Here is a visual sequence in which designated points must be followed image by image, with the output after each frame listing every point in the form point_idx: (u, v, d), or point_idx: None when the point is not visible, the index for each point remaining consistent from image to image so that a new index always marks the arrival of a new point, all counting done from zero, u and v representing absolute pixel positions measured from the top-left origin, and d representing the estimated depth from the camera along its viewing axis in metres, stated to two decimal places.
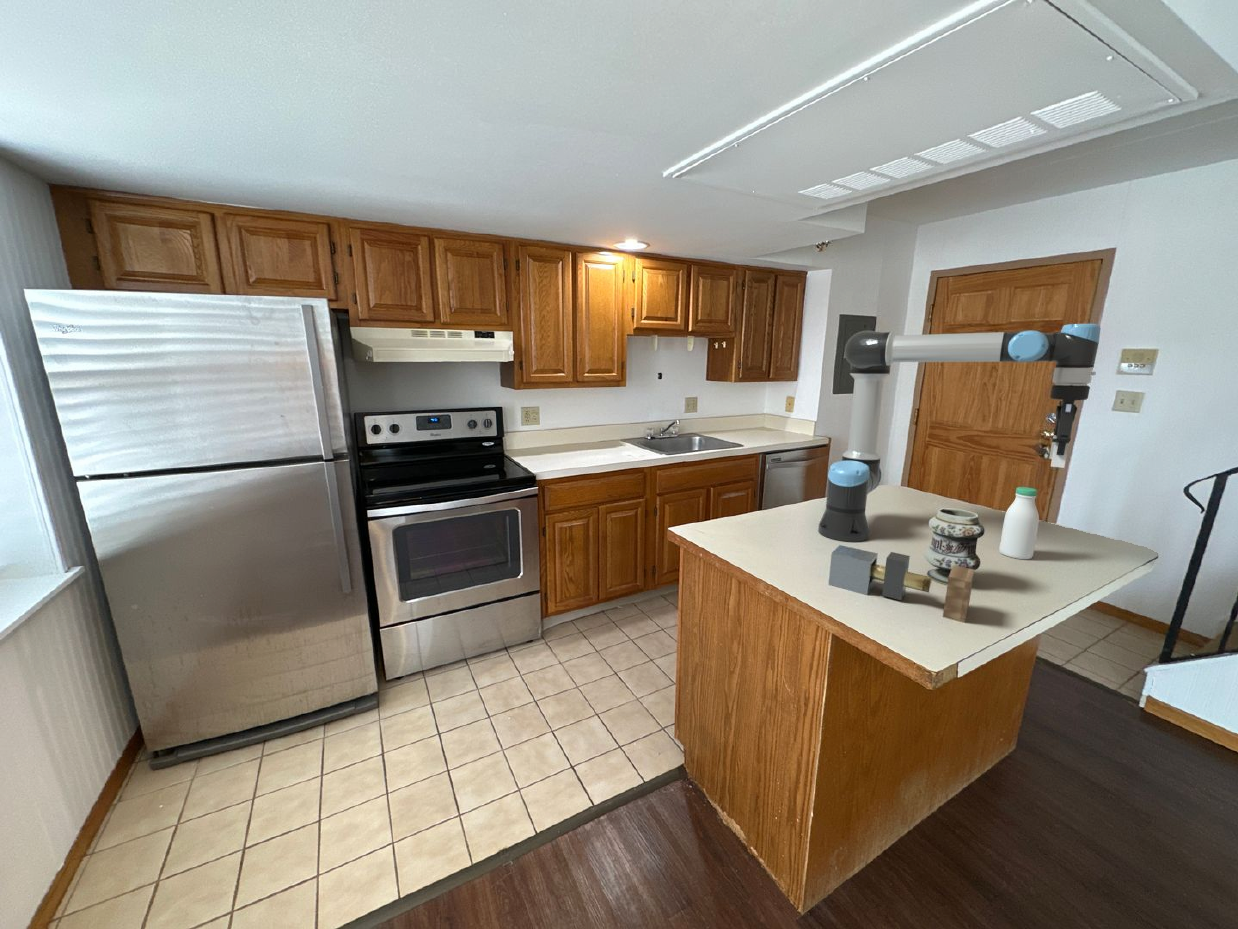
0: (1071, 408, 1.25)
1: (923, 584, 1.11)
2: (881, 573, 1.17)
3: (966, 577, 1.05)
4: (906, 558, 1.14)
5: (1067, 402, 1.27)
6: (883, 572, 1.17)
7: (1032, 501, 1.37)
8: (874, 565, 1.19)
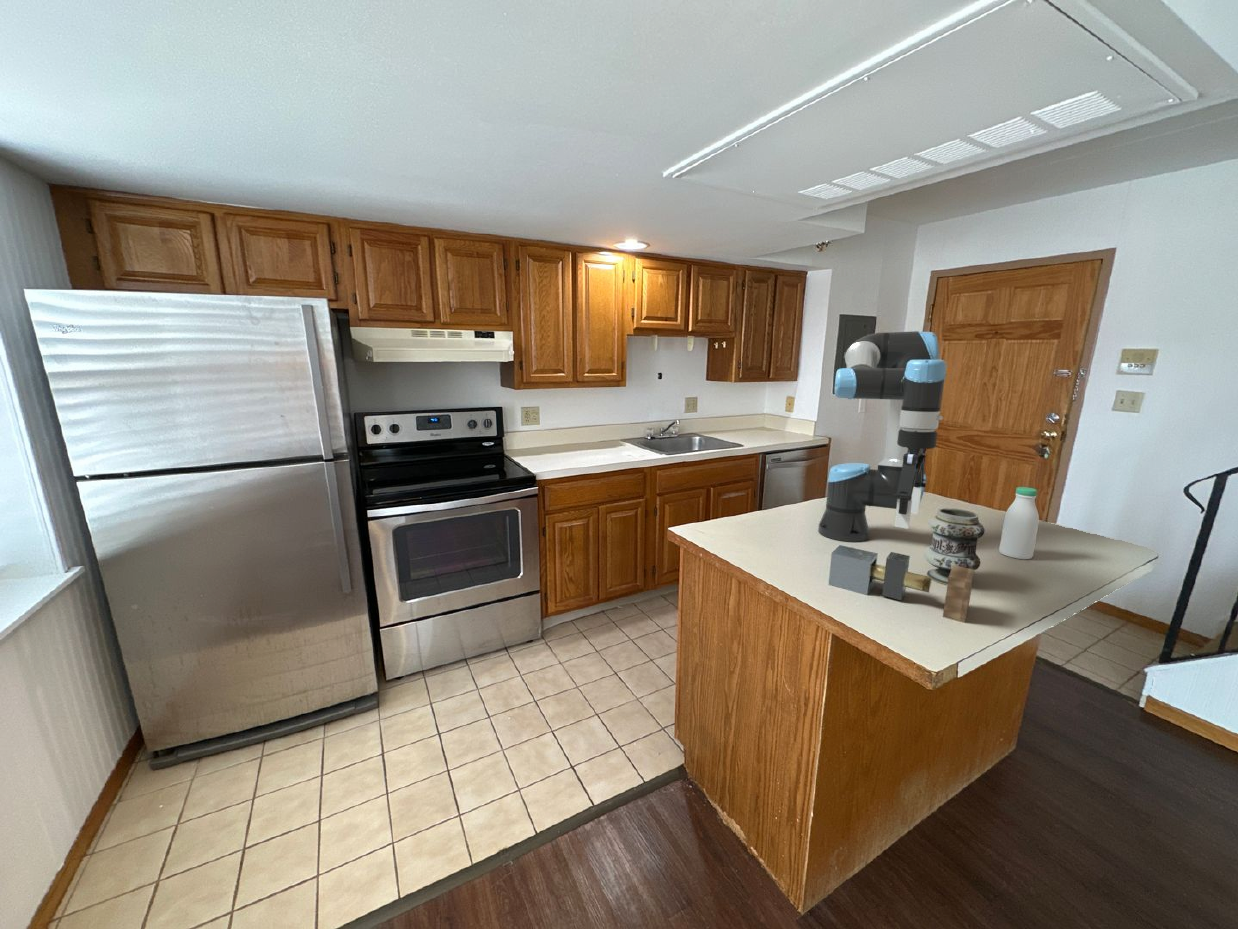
0: (912, 460, 1.05)
1: (923, 584, 1.11)
2: (881, 573, 1.17)
3: (966, 577, 1.05)
4: (906, 558, 1.14)
5: (911, 451, 1.08)
6: (883, 572, 1.17)
7: (1032, 501, 1.37)
8: (874, 565, 1.19)
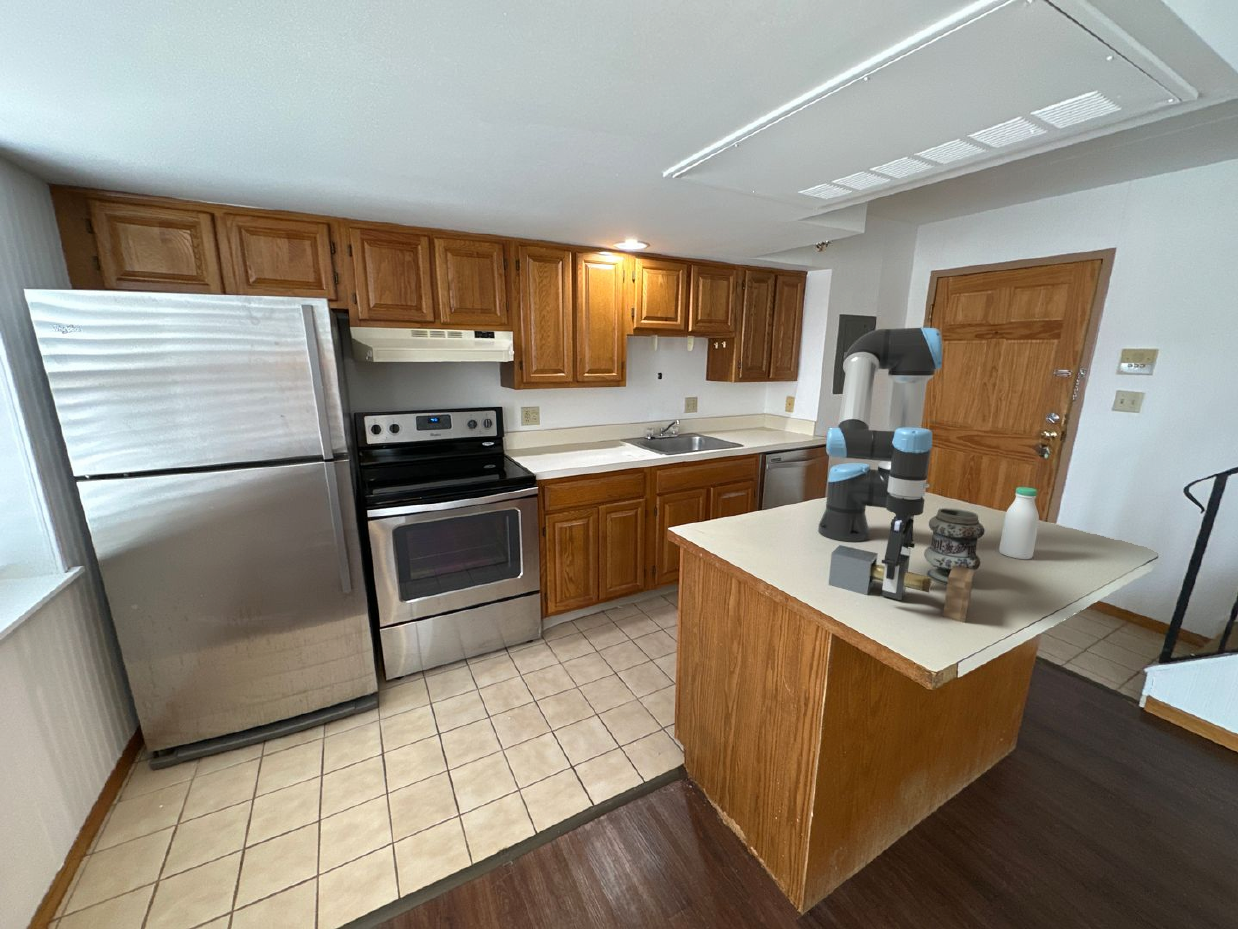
0: (899, 527, 1.08)
1: (923, 584, 1.11)
2: (881, 573, 1.17)
3: (966, 577, 1.05)
4: (906, 558, 1.14)
5: (899, 517, 1.10)
6: (883, 572, 1.17)
7: (1032, 501, 1.37)
8: (874, 565, 1.19)
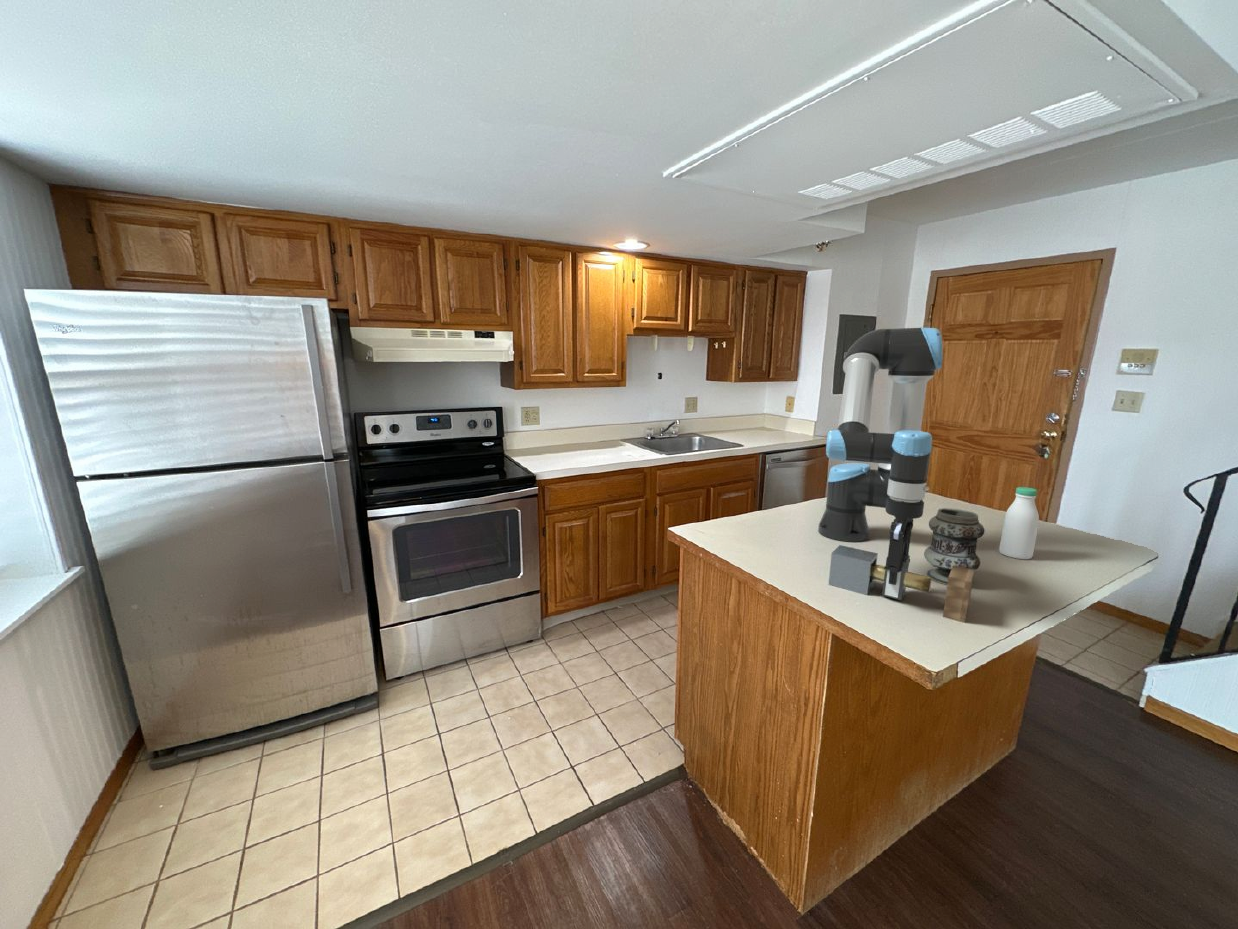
0: (898, 537, 1.09)
1: (923, 584, 1.11)
2: (881, 573, 1.17)
3: (966, 577, 1.05)
4: (906, 558, 1.14)
5: (898, 520, 1.11)
6: (883, 572, 1.17)
7: (1032, 501, 1.37)
8: (874, 565, 1.19)
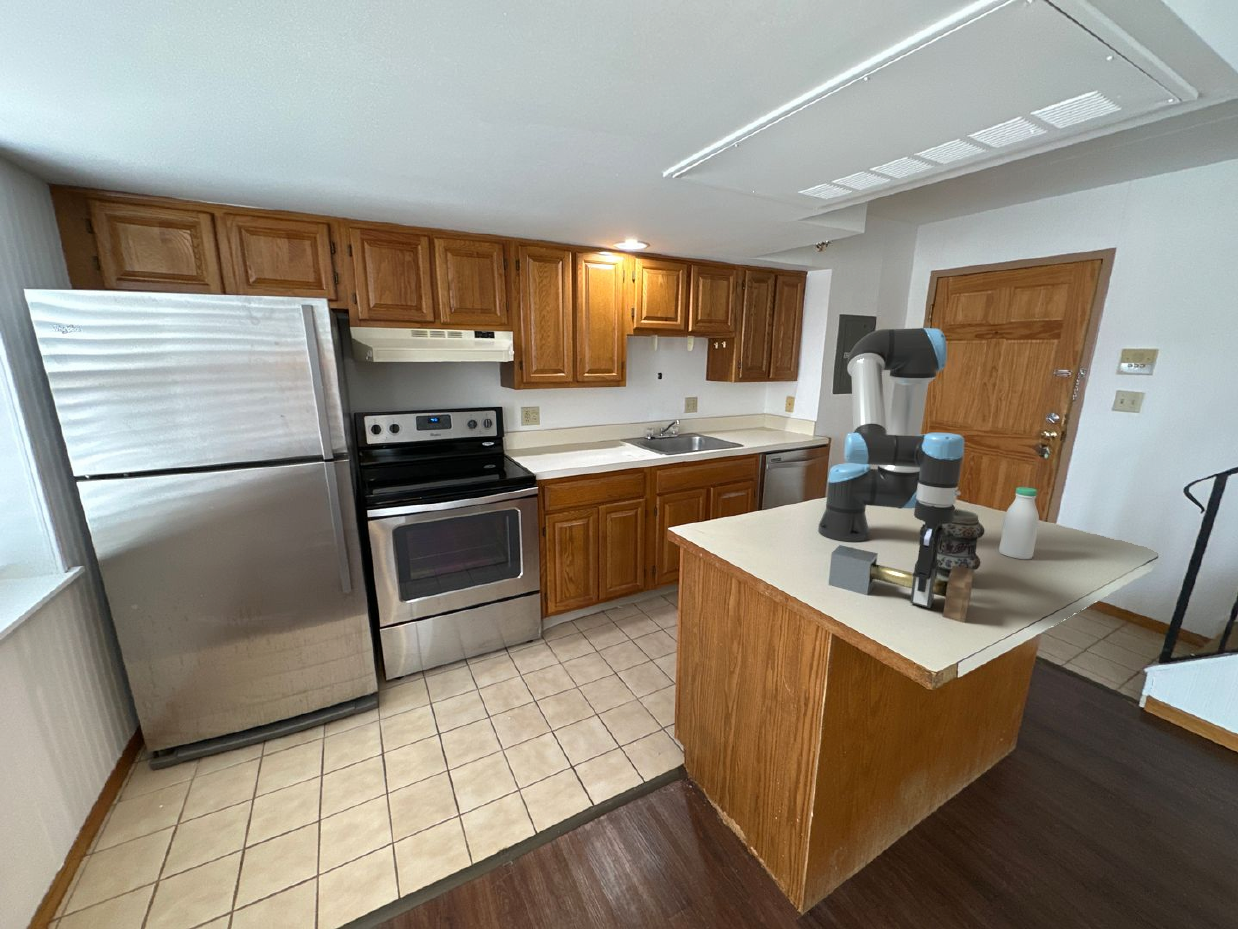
0: (929, 543, 1.05)
1: None
2: (909, 580, 1.13)
3: (966, 577, 1.05)
4: (935, 564, 1.11)
5: (928, 526, 1.07)
6: (911, 579, 1.13)
7: (1032, 501, 1.37)
8: (901, 571, 1.15)
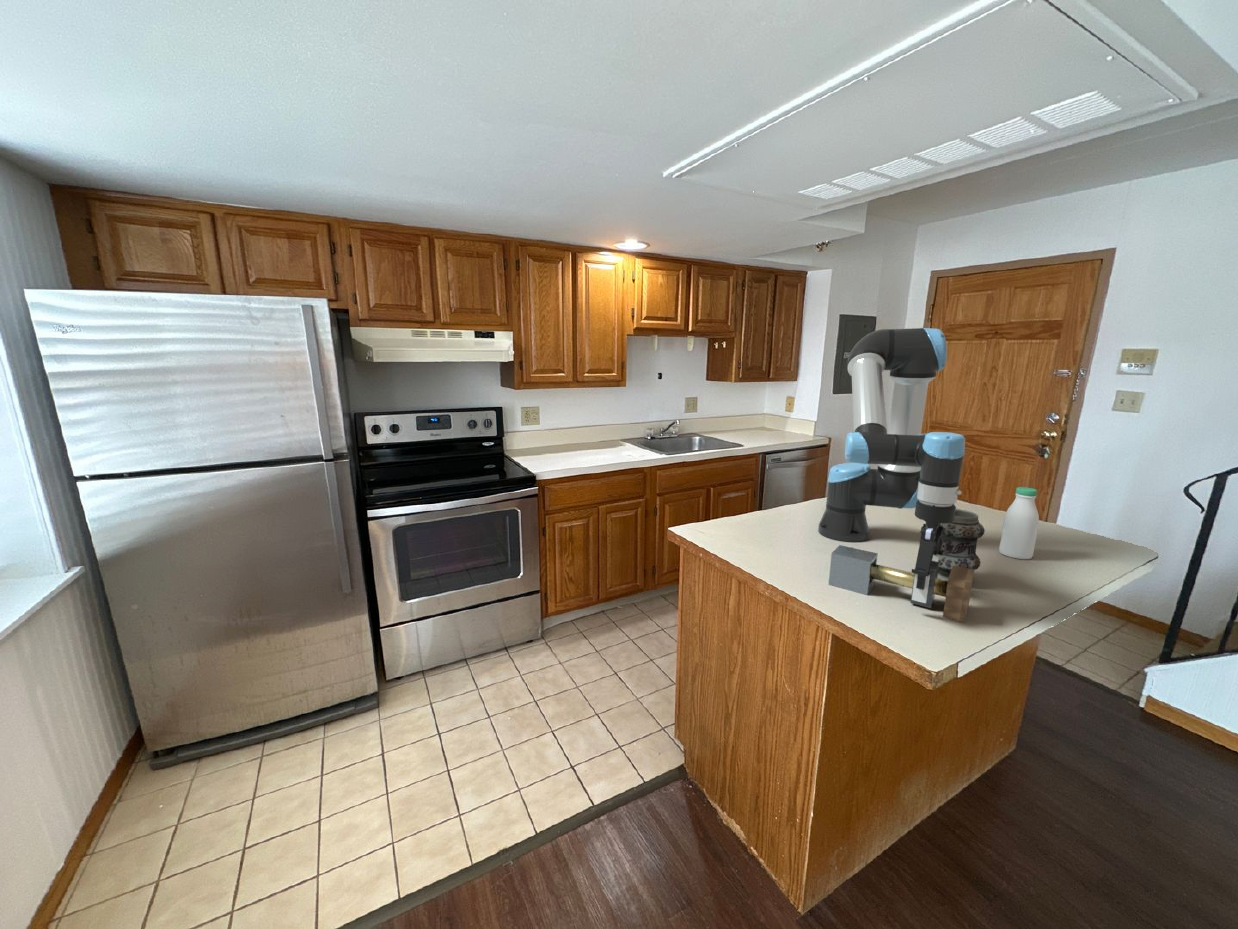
0: (930, 536, 1.04)
1: None
2: (909, 580, 1.13)
3: (966, 577, 1.05)
4: (936, 565, 1.11)
5: (929, 525, 1.07)
6: (912, 579, 1.13)
7: (1032, 501, 1.37)
8: (902, 572, 1.15)
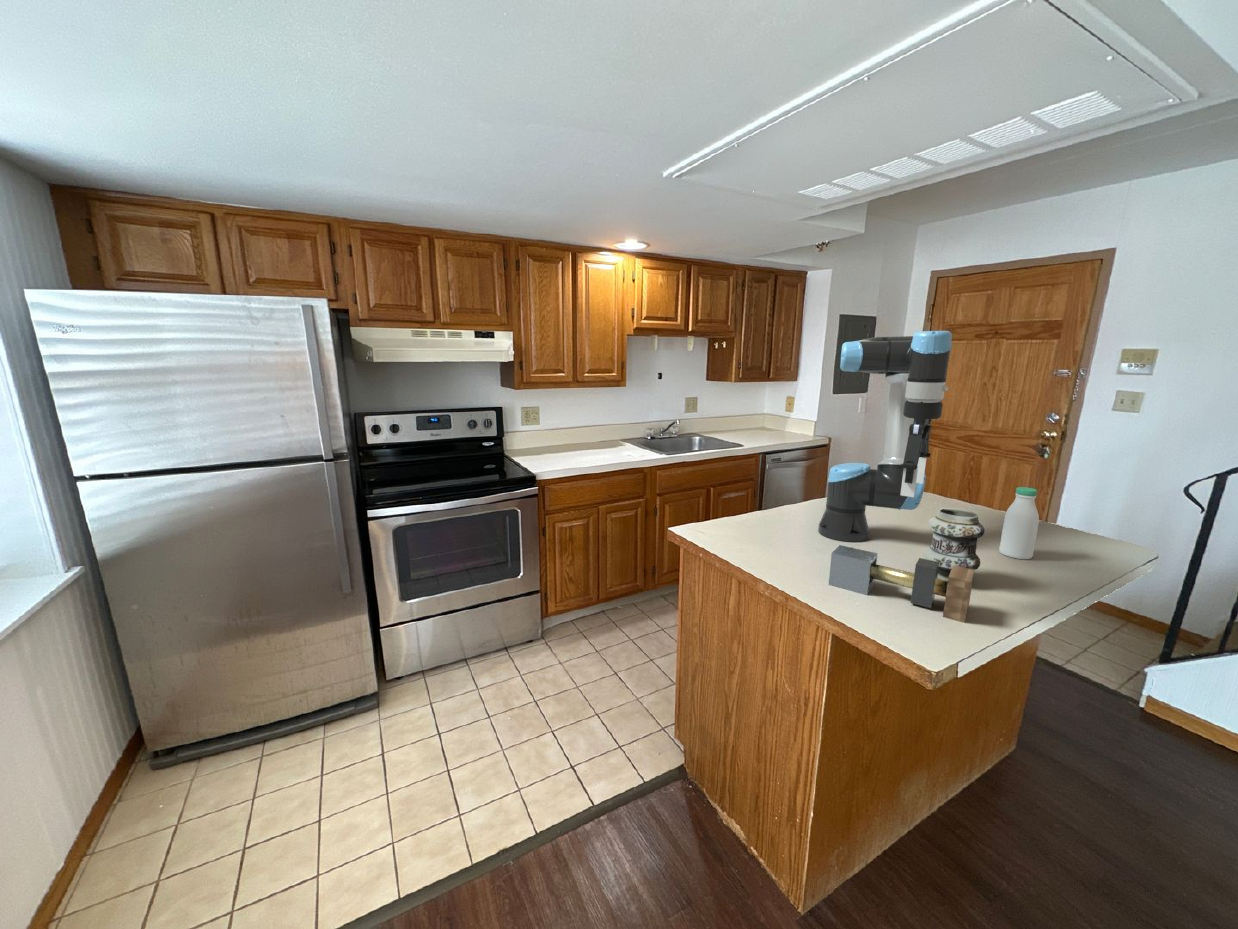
0: (918, 430, 1.08)
1: None
2: (909, 580, 1.13)
3: (966, 577, 1.05)
4: (936, 565, 1.11)
5: (917, 422, 1.10)
6: (912, 579, 1.13)
7: (1032, 501, 1.37)
8: (902, 572, 1.15)
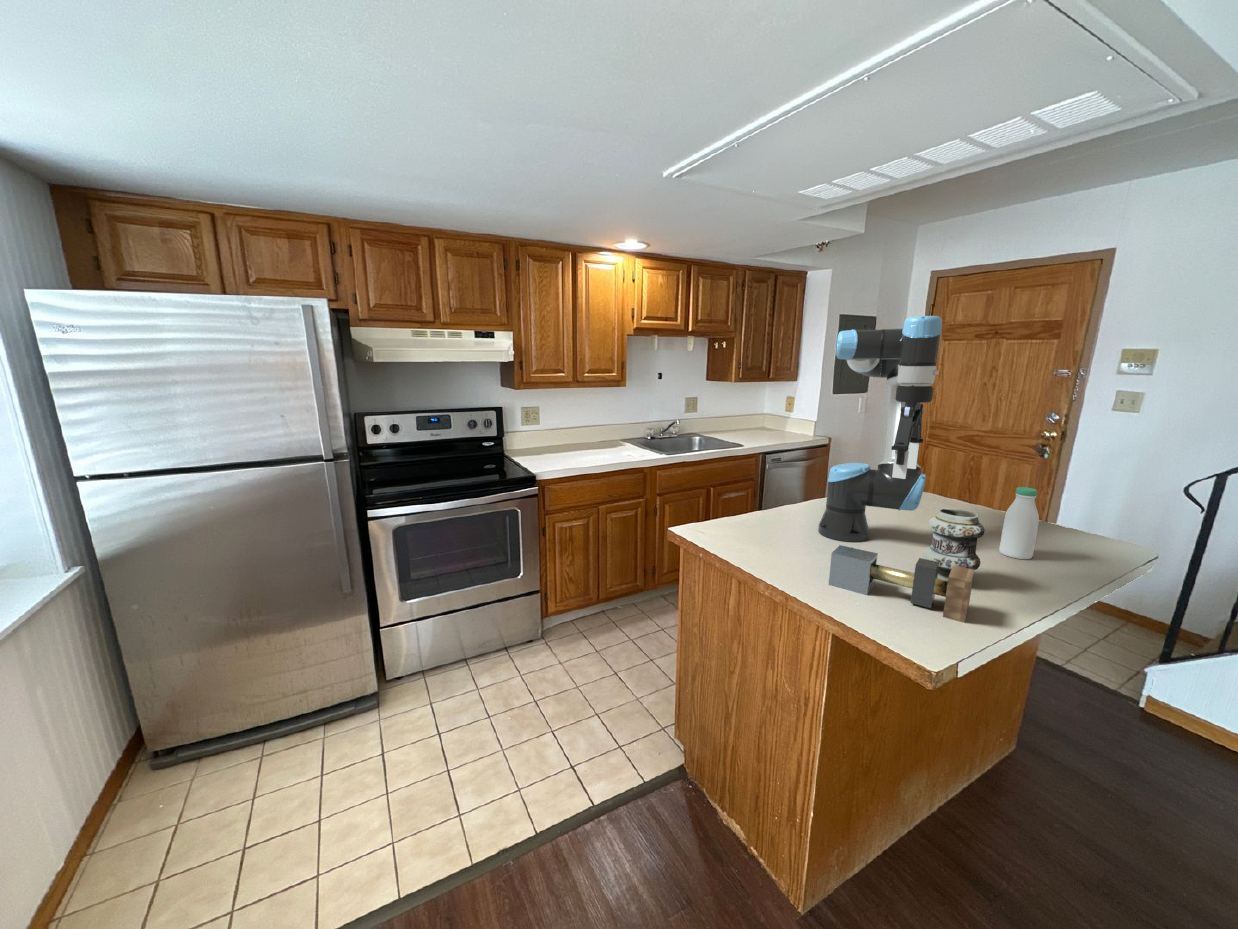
0: (909, 412, 1.10)
1: None
2: (909, 580, 1.13)
3: (966, 577, 1.05)
4: (936, 565, 1.11)
5: (908, 405, 1.13)
6: (912, 579, 1.13)
7: (1032, 501, 1.37)
8: (902, 572, 1.15)
